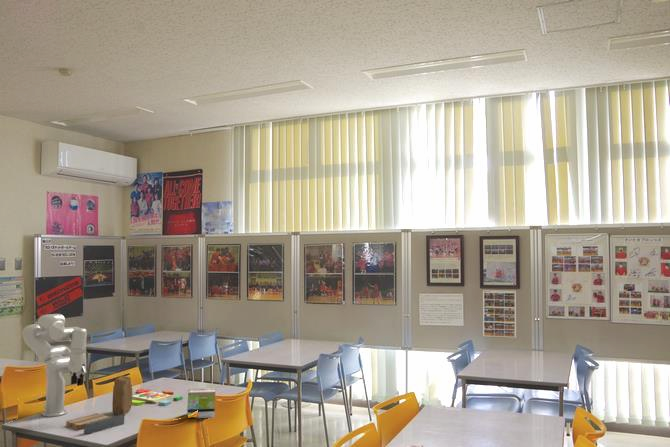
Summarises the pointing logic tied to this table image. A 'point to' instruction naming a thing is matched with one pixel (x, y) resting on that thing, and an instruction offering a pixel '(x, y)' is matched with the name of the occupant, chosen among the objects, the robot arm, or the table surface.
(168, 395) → the pattern blocks set
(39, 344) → the robot arm
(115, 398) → the block
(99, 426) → the block
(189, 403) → the tea box
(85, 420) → the walnut slab
